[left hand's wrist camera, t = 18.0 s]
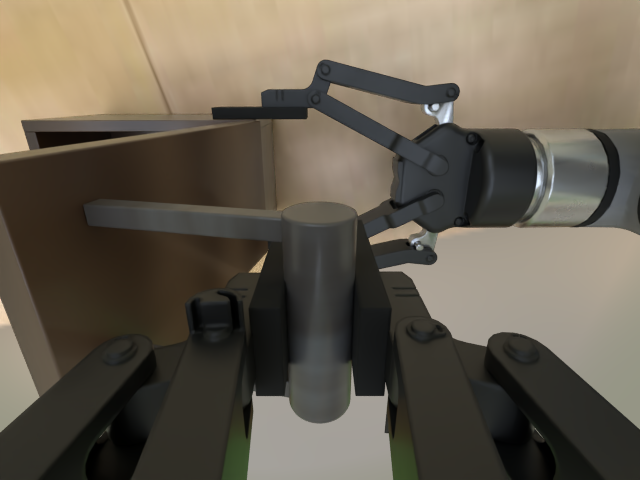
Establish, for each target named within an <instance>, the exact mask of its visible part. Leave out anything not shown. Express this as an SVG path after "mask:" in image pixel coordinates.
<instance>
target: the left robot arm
mask: <svg viewBox="0 0 640 480" xmlns="http://www.w3.org/2000/svg"><path fill="white" fill-rule="evenodd" d="M185 309H186V315H187V321H188V327H189V336H188V338H187V340H185V341H183V342H180V343H176V344H172V345H167V346H162V347H157V348H154V347H153V342H152V340H151V339H150V338H149V337H148V336H145V335H141V334H126V335H122V336H117V337H114V338H112V339H110V340H108V341H105V342H103V343H102V344H100V345H99V346H98V347H96V348H95V349H93V350H92V351H91V352H90V353H89V354H88V355H87V356H86V357H84V358H83V359H82V360H81V361H80V362H79V363H78V364H77V365H75V366H74V367H73V368H72V369H71V370H70V371H69V372H68V373H66V374H65V375H64V376H63V377H62V378H61V379H60V380H59V381H58V382H56V383H55V384H54V385H53V386H52V387H51V388H50V389H49V390H47V391H46V392H45V393H44V394H43V395H42V396H41V397H40V398H38V399H37V400H36V401H35V402H34V403H33V404H32V405H31V406H30V407H28V408H27V409H26V410H25V411H24V412H23V413H22V414H21V415H19V416H18V417H17V418H16V419H15V420H14V421H13V422H12V423H10V424H9V425H8V426H7V427H6V428H5V429H4V430H3V431H2V432H0V480H247V471H248V461H249V450H250V440H251V429H252V419H253V403H252V394H253V389H254V385H255V388H256V396H285V389H286V381H287V372H288V364H289V356H288V333H287V309H286V286H285V281H284V271H283V249H282V242H271V244H270V247H269V250H268V253H267V256H266V258H265V261H264V264H263V267H262V270H261V273H238V274H236V275H235V276H234V277H232V278H231V279H230V280H229V281H228V283H227V285H226V287H225V288H215V289H208V290H205V291H202V292H199V293H197V294H195V295H193V296H192V297H190V298H189V299H188V300H187V301H186V302H185ZM351 360H352V368H353V377H354V386H355V394H356V396H384V392H385V382H386V386H387V390H388V403H387V414H386V424H385V433H389V439H390V450H391V460H392V471H393V480H640V429H639V428H637V427H636V426H635V425H634V424H633V423H632V422H631V421H629V420H628V419H627V418H626V417H625V416H624V415H623V414H622V413H620V412H619V411H618V410H617V409H616V408H615V407H614V406H613V405H611V404H610V403H609V402H608V401H607V400H606V399H605V398H604V397H602V396H601V395H600V394H599V393H598V392H597V391H596V390H594V389H593V388H592V387H591V386H590V385H589V384H588V383H587V382H585V381H584V380H583V379H582V378H581V377H580V376H579V375H578V374H576V373H575V372H574V371H573V370H572V369H571V368H570V367H569V366H567V365H566V364H565V363H564V362H563V361H562V360H561V359H559V358H558V357H557V356H556V355H555V354H554V353H553V352H552V351H550V350H549V349H548V348H547V347H546V346H544V345H543V344H541V343H540V342H538V341H537V340H534V339H532V338H530V337H527V336H525V335H522V334H517V333H507V332H501V333H497V334H494V335H492V336H491V337H490V338H489V340H488V344H487V347H485V346H481V345H476V344H471V343H466V342H463V341H459V340H456V339H454V338H452V335H451V333H450V331H449V330H448V329H447V327H446V326H445V325H443V324H442V323H440V322H439V321H437V320H434V319H432V318H431V316H430V314H429V312H428V310H427V308H426V306H425V304H424V303H423V300H422V298H421V297H420V295H419V293H418V291H417V289H416V287H415V285H414V283H413V281H412V279H411V278H410V277H408V276H407V275H406V274H404V273H403V272H379V269H378V266H377V263H376V260H375V257H374V254H373V251H372V248H371V245H370V242H369V240H368V237H367V234H366V231H365V228H364V225H363V222H362V220H357V243H356V268H355V284H354V308H353V333H352V357H351ZM535 428H536V430H537V431H538V432H539V433H540V434H541V436H542V437H543V438H544V439H545V440H544V439H543V438H542V437H541V436H540V435H539V433H538V432H537V431H536V430H535ZM105 430H106V431H105ZM104 431H105V432H104ZM103 432H104V433H103ZM101 435H102V436H101ZM100 436H101V437H100ZM99 437H100V438H99Z"/></svg>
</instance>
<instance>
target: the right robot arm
mask: <svg viewBox="0 0 640 480" xmlns="http://www.w3.org/2000/svg"><path fill="white" fill-rule="evenodd" d="M330 83H333V84H337V85H340V86H344V87H348V88H352V89H356V90H360V91H363V92H367V93H371V94H375V95H379V96H383V97H386V98H390V99H394V100H398V101H402V102H406V103H411V104H421V110H422V112H423V113H424V114H425V115H430V116H432V117H433V118H434V119H435V123H436V124H434V125H433V126H432V127H430V128H429V129H427V130H426V131H424V132H423V133H422V134H420V135H419V136H417V137H416V138H414V139H413V140H412V141H410V140H408V139H407V138H405V137H403V136H401V135H399V134H397V133H396V132H394V131H392V130H390V129H388V128H387V127H385V126H383V125H381V124H379V123H378V122H376V121H374V120H372V119H370V118H369V117H367V116H365V115H363V114H361V113H360V112H358V111H356V110H354V109H352V108H351V107H349V106H347V105H345V104H343V103H342V102H340V101H338V100H336V99H334V98H333V97H331V96H329V95H327V92H328V89H329V86H330ZM459 93H460V90H459V87H458V85H456V84H455V83H447V84H439V85H431V86H424V85H420V84H416V83H412V82H409V81H405V80H401V79H397V78H394V77H390V76H386V75H382V74H379V73H375V72H371V71H367V70H364V69H360V68H356V67H352V66H349V65H345V64H341V63H337V62H334V61H330V60H322V61H320V62H319V64H318V66H317V69H316V72H315V75H314V78H313V81H312V83H311V85H310V86H309V87H308V88H306V89H277V90H266V91H264V92H262V93H261V99H262V107H214V108H212V116H213V119H307V117H308V110H307V108H314V109H316V110H318V111H320V112H322V113H323V114H325V115H327V116H329V117H331V118H333V119H334V120H336V121H338V122H340V123H342V124H344V125H345V126H347V127H349V128H351V129H353V130H355V131H356V132H358V133H360V134H362V135H364V136H366V137H368V138H369V139H371V140H373V141H375V142H377V143H379V144H380V145H382V146H384V147H386V148H388V149H389V150H391V151H393V152H395V153H396V156H395V157H393V166H392V168H393V173H394V179H393V182H392V185H391V193H390V196H391V197H392V198H390V199H388V200H386V201H384V202H382V203H381V204H380V205H379V206H378V207H376V208H374V209H372V210H370V211H368V212H366V213H364V214H362V215H360V216H358V218H357V220H362V222H363V225H364V228H365V231H366V234H367V237H368V238H370V237H372V236H374V235H376V234H378V233H380V232H382V231H384V230H387V229H389V228H396V227H399V226H401V225H403V224H405V223H407V222H410V221H412V220H413V221H414V222H416V223H417V224H418V225H420V226H421V227H422V228H423V230H422V231H421V232H420V233H417V234H412V235H410V237H409V238H408V239H397V240H392V241H388V242H383V243H378V244H374V245H371V248H372V251H373V254H374V257H375V260H376V263H377V266H378V269H382V268H386V267H392V266H396V265H401V264H405V263H414V264H424V265H431V264H434V263H435V262H436V260H437V255H436V253H435V252H434V247H435V243H436V240H437V236H438V233H439V232H442V231H444V230H446V229H448V228H452V227H466V228H486V227H510V226H512V225H513V226H515V227H520V228H531V227H615V228H622V229H626V230H629V231H631V232H634V233H636V234H638V235H640V129H605V130H593V129H525V130H523V131H520V130H518V129H463V128H461V127H459V126H457V125H456V124H454V123H453V101H455V100H456V99H457V98H458V96H459ZM270 244H271V242H270V241H268V249H269V247H270Z"/></svg>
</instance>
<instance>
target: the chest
mask: <svg viewBox="0 0 640 480" xmlns="http://www.w3.org/2000/svg"><path fill="white" fill-rule="evenodd" d="M244 120H251V121H260V127H261V143H262V159H263V175H264V191H265V207H266V210H275V211H276V209H277V207H276V188H275V168H274V148H273V128H272V119H213V116H212V114H100V115H87V116H74V117H60V118H47V119H34V120H22V121H21V123H22V126H23V129H24V132H25V135H26V139H27V142H28V145H29V149H30V150H36V149H43V148H51V147H58V146H65V145H72V144H79V143H86V142H94V141H101V140H108V139H115V138H122V137H129V136H136V135H144V134H151V133H158V132H165V131H172V130H179V129H187V128H194V127H201V126H208V125H215V124H222V123H230V122H237V121H244Z"/></svg>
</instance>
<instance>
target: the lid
mask: <svg viewBox="0 0 640 480" xmlns="http://www.w3.org/2000/svg"><path fill="white" fill-rule="evenodd" d="M357 218H358V215H357V212H356V211H355V210H354V209H353V208H351V207H349V206H346V205H343V204H339V203H332V202H307V203H300V204H296V205H293V206H290V207H287V208H286V209H284V210H283V211H275V210H266V207H265V191H264V175H263V159H262V143H261V127H260V121H251V120H244V121H237V122H230V123H222V124H215V125H208V126H201V127H194V128H187V129H179V130H172V131H165V132H158V133H151V134H144V135H136V136H129V137H122V138H115V139H108V140H101V141H94V142H86V143H79V144H72V145H65V146H58V147H51V148H43V149H36V150H29V151H22V152H15V153H8V154H0V298H1V301H2V303H3V306H4V308H5V311H6V313H7V316H8V318H9V321H10V323H11V326H12V328H13V331H14V333H15V336H16V338H17V341H18V344H19V346H20V348H21V351H22V354H23V356H24V359H25V361H26V364H27V366H28V369H29V371H30V374H31V376H32V379H33V381H34V384H35V386H36V389H37V391H38V394H39V396H40V397H41V396H42V395H43V394H44V393H45V392H46V391H47V390H49V389H50V388H51V387H52V386H53V385H54V384H55V383H56V382H58V381H59V380H60V379H61V378H62V377H63V376H64V375H65V374H66V373H68V372H69V371H70V370H71V369H72V368H73V367H74V366H75V365H77V364H78V363H79V362H80V361H81V360H82V359H83V358H84V357H86V356H87V355H88V354H89V353H90V352H91V351H92V350H93V349H95V348H96V347H98V346H99V345H100V344H102V343H103V342H105V341H108V340H110V339H112V338H114V337H117V336H122V335H126V334H141V335H145V336H148V337H149V338H150V339H151V340H152V342H153V347H154V348H157V347H162V346H167V345H172V344H176V343H180V342H183V341H185V340H187V338H188V336H189V327H188V321H187V315H186V309H185V302H186V301H187V300H188V299H189V298H190V297H192V296H193V295H195V294H197V293H199V292H202V291H205V290H208V289H215V288H225V287H226V285H227V283H228V281H229V280H230V279H231V278H232V277H234V276H235V275H236V274H238V273H248V272H249V271H250V270H251V269H252V268H253V267H254V266H255V265H256V264H257V263H258V261H259V260H260V259H261V258H262V257H263V256H264V255H265V254H266V253H267V251H268V241H270V242H282V249H283V271H284V281H285V286H286V309H287V333H288V356H289V364H288V372H287V381H286V389H285V396H284V397H289V400H290V405H291V407H292V409H293V411H294V412H295V413H296V414H297V415H298V416H299V417H300V418H302V419H303V420H306V421H308V422H312V423H328V422H331V421H334V420H336V419H338V418H339V417H341V416H342V415H343V414H344V413H345V412H346V410H347V409H348V406H349V404H350V393H351V368H352V360H351V357H352V333H353V308H354V284H355V268H356V243H357ZM253 391H256V388H255V385H254V389H253ZM105 431H106V430H105ZM105 431H104V432H105ZM104 432H103V433H104Z"/></svg>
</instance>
